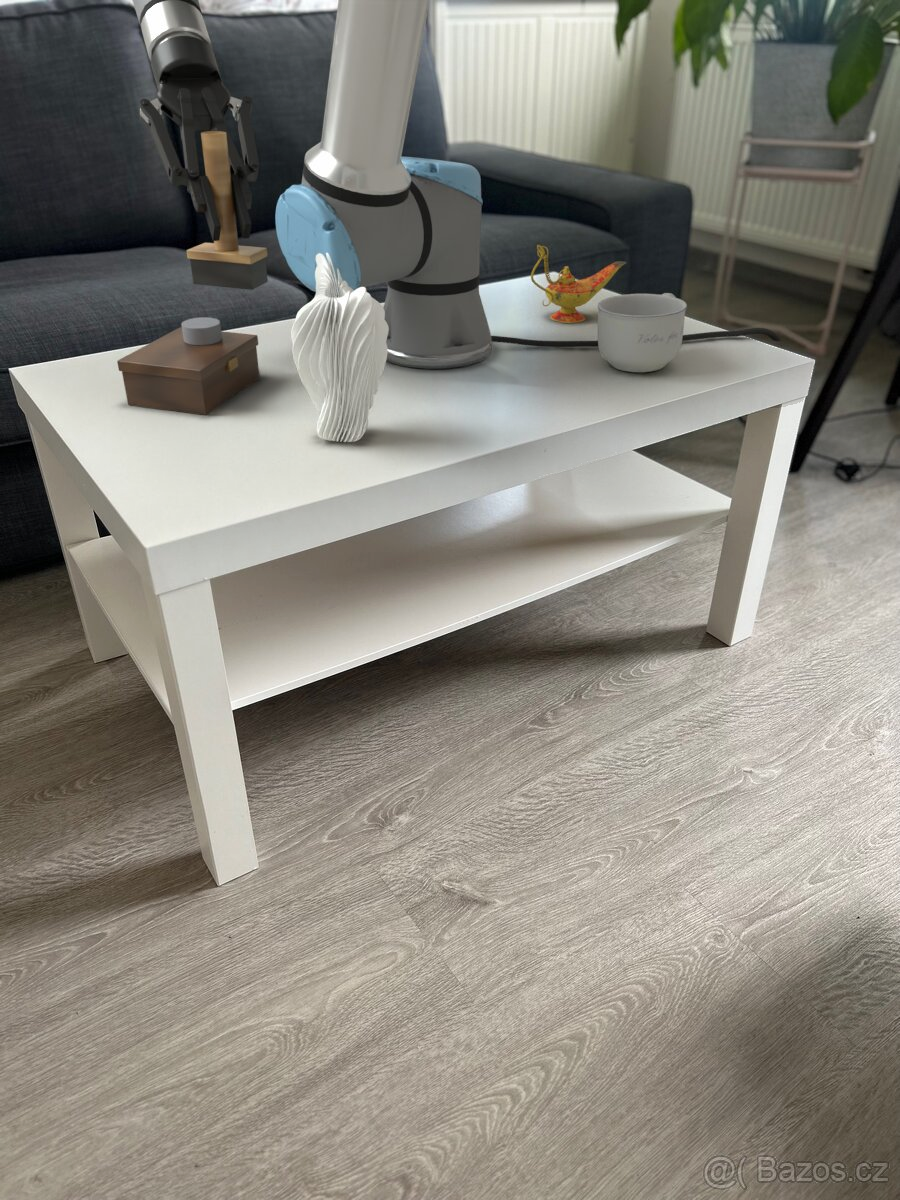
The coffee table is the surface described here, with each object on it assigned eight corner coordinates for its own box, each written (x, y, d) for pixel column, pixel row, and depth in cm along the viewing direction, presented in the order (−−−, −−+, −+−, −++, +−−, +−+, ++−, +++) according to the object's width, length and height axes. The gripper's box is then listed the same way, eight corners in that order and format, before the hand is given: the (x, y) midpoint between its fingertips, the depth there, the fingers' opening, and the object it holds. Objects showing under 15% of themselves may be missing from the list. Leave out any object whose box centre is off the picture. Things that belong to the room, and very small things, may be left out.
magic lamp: (636, 312, 138) (645, 234, 133) (543, 331, 130) (549, 249, 124) (605, 301, 143) (612, 226, 137) (513, 320, 135) (517, 240, 129)
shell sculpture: (375, 454, 94) (368, 272, 85) (297, 448, 95) (281, 267, 86) (393, 424, 101) (389, 252, 91) (320, 418, 102) (308, 248, 93)
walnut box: (263, 377, 113) (259, 335, 111) (208, 416, 103) (202, 370, 100) (186, 368, 116) (180, 326, 113) (125, 405, 105) (116, 360, 102)
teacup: (641, 386, 112) (649, 319, 108) (574, 363, 119) (580, 299, 114) (710, 361, 120) (720, 299, 115) (643, 342, 126) (651, 281, 122)
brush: (270, 281, 114) (256, 132, 105) (253, 290, 110) (237, 136, 101) (209, 275, 116) (190, 128, 107) (190, 284, 112) (169, 133, 103)
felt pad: (229, 336, 110) (227, 319, 109) (210, 347, 107) (208, 329, 105) (196, 332, 111) (193, 315, 110) (176, 343, 108) (174, 326, 107)
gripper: (244, 79, 116) (294, 246, 113) (113, 82, 111) (161, 257, 107) (251, 31, 109) (303, 207, 106) (111, 31, 104) (162, 217, 100)
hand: (232, 232), depth 106 cm, fingers closed on brush, 3 cm apart
